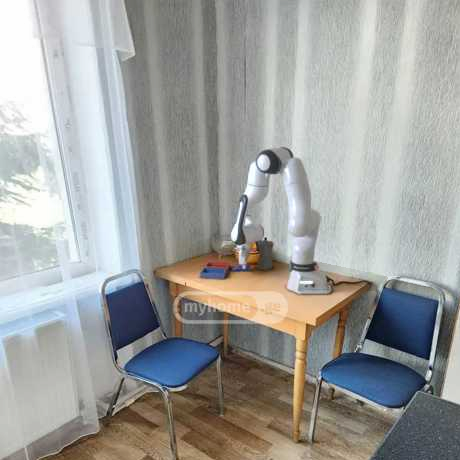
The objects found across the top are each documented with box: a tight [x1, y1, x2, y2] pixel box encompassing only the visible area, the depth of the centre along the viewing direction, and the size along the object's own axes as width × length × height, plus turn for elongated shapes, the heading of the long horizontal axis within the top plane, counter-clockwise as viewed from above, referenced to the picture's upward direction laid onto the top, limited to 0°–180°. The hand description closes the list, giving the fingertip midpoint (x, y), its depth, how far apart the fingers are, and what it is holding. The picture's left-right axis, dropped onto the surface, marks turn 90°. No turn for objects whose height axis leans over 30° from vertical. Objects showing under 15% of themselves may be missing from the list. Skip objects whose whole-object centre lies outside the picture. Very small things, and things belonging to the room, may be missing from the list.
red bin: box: [204, 261, 231, 273], centre depth 229 cm, size 13×9×3 cm
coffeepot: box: [254, 236, 274, 271], centre depth 230 cm, size 15×9×18 cm, turn 35°
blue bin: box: [199, 267, 228, 280], centre depth 219 cm, size 13×9×3 cm
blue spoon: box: [231, 264, 252, 272], centre depth 227 cm, size 11×4×3 cm, turn 80°
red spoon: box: [210, 264, 228, 267], centre depth 229 cm, size 11×4×3 cm, turn 80°
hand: (244, 267), depth 226 cm, fingers closed on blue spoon
